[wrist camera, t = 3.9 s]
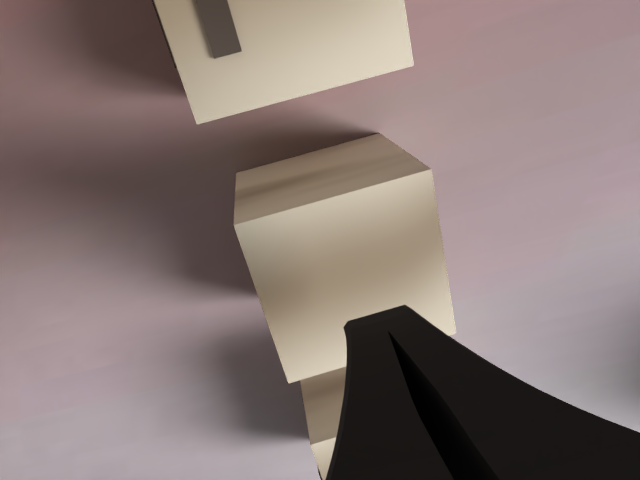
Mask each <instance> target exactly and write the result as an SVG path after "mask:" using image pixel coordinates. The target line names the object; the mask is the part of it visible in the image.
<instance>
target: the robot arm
mask: <svg viewBox="0 0 640 480" xmlns="http://www.w3.org/2000/svg"><path fill="white" fill-rule="evenodd" d="M343 328H344V332H345V336H346V346H347V364H346V376H345V388H344V397H343V403H342V409H341V415H340V420H339V426H338V432H337V436H336V441H335V445H334V450H333V454H332V458H331V462H330V465H329V469H328V473H327V476H326V480H640V433H639V432H637V431H634V430H631V429H629V428H626V427H624V426H621V425H618V424H616V423H613V422H611V421H608V420H605V419H603V418H600V417H598V416H596V415H593V414H591V413H588V412H586V411H584V410H581V409H579V408H577V407H575V406H572V405H570V404H568V403H566V402H564V401H562V400H560V399H557V398H555V397H553V396H551V395H549V394H547V393H545V392H542V391H540V390H538V389H536V388H535V387H533V386H531V385H529V384H527V383H525V382H523V381H521V380H520V379H518V378H516V377H514V376H512V375H511V374H509V373H507V372H505V371H504V370H502V369H500V368H498V367H497V366H495V365H493V364H492V363H490V362H488V361H487V360H485V359H483V358H482V357H480V356H479V355H477V354H476V353H474V352H472V351H471V350H469V349H468V348H466V347H465V346H463V345H462V344H460V343H458V342H457V341H456V340H454V339H453V338H451V337H450V336H448V335H447V334H445V333H444V332H443V331H441V330H440V329H438V328H437V327H436V326H434V325H433V324H431V323H430V322H429V321H427V320H426V319H425V318H423V317H422V316H421V315H419V314H418V313H417V312H415V311H414V310H413V309H412V308H410V307H408V306H407V305H402V306H398V307H395V308H391V309H388V310H384V311H381V312H377V313H374V314H371V315H367V316H364V317H360V318H357V319H353V320H350V321H347V323H346V324H345V326H344V327H343Z"/></svg>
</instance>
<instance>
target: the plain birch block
mask: <svg viewBox="0 0 640 480" xmlns="http://www.w3.org/2000/svg"><path fill="white" fill-rule="evenodd" d="M234 228H235V231H236V234H237V237H238V240H239V243H240V245H241V248H242V251H243V254H244V257H245V260H246V263H247V266H248V269H249V271H250V274H251V277H252V280H253V283H254V286H255V289H256V292H257V294H258V297H259V300H260V303H261V306H262V309H263V312H264V315H265V318H266V320H267V323H268V326H269V329H270V332H271V335H272V338H273V341H274V343H275V346H276V349H277V352H278V355H279V358H280V361H281V364H282V367H283V369H284V372H285V375H286V378H287V381H288V384H289V383H292V382H295V381H299V380H302V379H305V378H309V377H312V376H315V375H319V374H322V373H326V372H329V371H332V370H336V369H339V368H342V367H346V364H347V346H346V336H345V332H344V328H343V327H344V326H345V324H346V323H347V321H350V320H353V319H357V318H360V317H364V316H367V315H371V314H374V313H377V312H381V311H384V310H388V309H391V308H395V307H398V306H402V305H407V306H408V307H410V308H412V309H413V310H414V311H415V312H417V313H418V314H419V315H421V316H422V317H423V318H425V319H426V320H427V321H429V322H430V323H431V324H433V325H434V326H436V327H437V328H438V329H440V330H441V331H443V332H444V333H445V334H447V335H448V336H450V335H453V334H456V327H455V321H454V314H453V307H452V301H451V294H450V288H449V281H448V275H447V268H446V261H445V255H444V248H443V242H442V235H441V229H440V222H439V215H438V209H437V202H436V196H435V189H434V183H433V176H432V169H431V168H429V167H428V166H426V165H425V164H423V163H422V162H421V161H419V160H418V159H416V158H415V157H413V156H412V155H410V154H409V153H408V152H406V151H405V150H403V149H402V148H400V147H399V146H398V145H396V144H395V143H393V142H392V141H390V140H389V139H387V138H386V137H385V136H383V135H382V134H380V133H378V134H374V135H370V136H367V137H363V138H360V139H356V140H352V141H349V142H345V143H342V144H338V145H335V146H331V147H327V148H324V149H320V150H317V151H313V152H310V153H306V154H302V155H299V156H295V157H292V158H288V159H284V160H281V161H277V162H274V163H270V164H267V165H263V166H259V167H256V168H252V169H249V170H245V171H242V172H238V173H236V186H235V206H234Z"/></svg>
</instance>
